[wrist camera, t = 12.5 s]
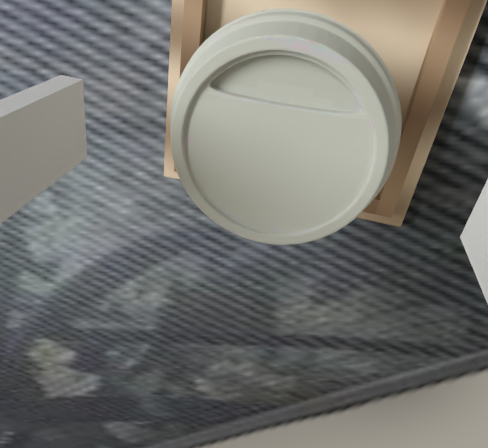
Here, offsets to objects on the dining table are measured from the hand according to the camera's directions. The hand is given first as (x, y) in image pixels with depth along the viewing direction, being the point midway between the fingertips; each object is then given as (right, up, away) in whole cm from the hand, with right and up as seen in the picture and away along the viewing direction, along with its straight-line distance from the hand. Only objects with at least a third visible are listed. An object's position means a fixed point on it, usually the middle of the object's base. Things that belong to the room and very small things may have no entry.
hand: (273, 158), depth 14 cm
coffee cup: (+2, +6, +11) cm, 13 cm away
